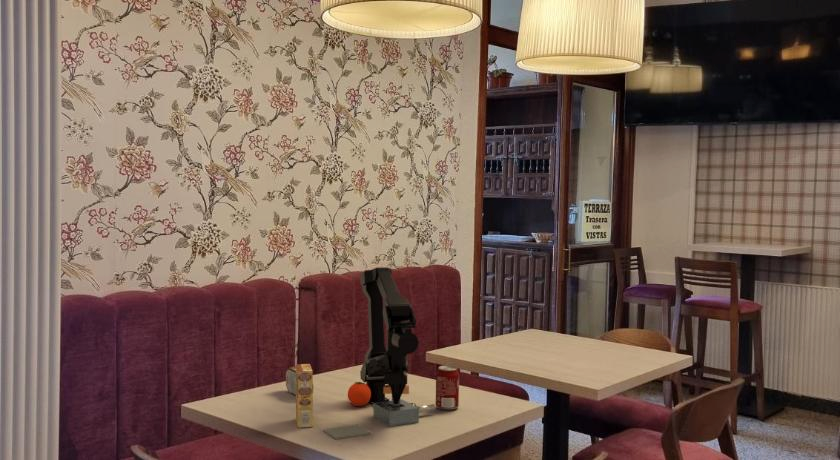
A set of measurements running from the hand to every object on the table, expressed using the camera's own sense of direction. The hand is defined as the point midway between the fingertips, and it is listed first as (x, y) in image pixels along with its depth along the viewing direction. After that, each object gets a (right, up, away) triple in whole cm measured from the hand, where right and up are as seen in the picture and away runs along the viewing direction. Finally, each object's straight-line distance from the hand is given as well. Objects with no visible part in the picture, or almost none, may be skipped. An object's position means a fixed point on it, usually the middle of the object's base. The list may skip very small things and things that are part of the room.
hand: (396, 402), depth 222 cm
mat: (-12, -5, -12) cm, 18 cm away
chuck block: (+3, -5, +2) cm, 6 cm away
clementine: (-11, -4, +14) cm, 19 cm away
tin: (-31, -3, +24) cm, 39 cm away
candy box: (-25, -5, -5) cm, 26 cm away
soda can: (+15, -5, +13) cm, 20 cm away
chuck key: (0, -3, 0) cm, 3 cm away
